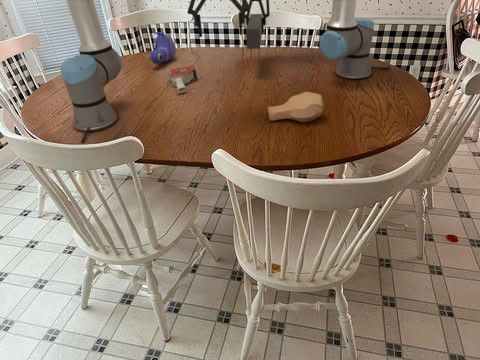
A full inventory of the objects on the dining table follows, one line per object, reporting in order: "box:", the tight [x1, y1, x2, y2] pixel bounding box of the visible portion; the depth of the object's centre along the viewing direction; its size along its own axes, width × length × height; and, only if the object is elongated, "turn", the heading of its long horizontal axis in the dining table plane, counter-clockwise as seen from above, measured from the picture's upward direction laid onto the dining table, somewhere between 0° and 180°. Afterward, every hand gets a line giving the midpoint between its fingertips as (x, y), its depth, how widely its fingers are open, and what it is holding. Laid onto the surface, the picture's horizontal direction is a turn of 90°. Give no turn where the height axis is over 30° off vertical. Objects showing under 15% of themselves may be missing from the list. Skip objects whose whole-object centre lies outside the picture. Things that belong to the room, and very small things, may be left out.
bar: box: [245, 13, 263, 50], centre depth 163 cm, size 29×6×8 cm, turn 175°
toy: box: [148, 31, 177, 69], centre depth 182 cm, size 10×17×25 cm
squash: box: [266, 91, 325, 123], centre depth 125 cm, size 11×20×9 cm, turn 92°
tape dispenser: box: [166, 65, 198, 94], centre depth 159 cm, size 18×5×20 cm
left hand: (220, 35), depth 120 cm, fingers open, 13 cm apart
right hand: (256, 32), depth 173 cm, fingers closed on bar, 6 cm apart
